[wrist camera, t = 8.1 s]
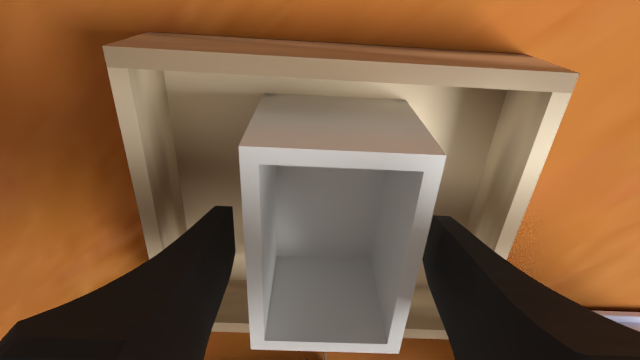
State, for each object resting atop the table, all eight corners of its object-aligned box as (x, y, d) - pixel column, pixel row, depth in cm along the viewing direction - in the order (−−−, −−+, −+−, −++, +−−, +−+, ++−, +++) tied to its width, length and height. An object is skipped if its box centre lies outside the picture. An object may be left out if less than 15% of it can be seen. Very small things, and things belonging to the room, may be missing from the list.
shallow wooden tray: (452, 288, 19) (474, 340, 17) (187, 278, 19) (164, 329, 16) (525, 54, 14) (579, 73, 11) (147, 31, 13) (102, 45, 10)
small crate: (378, 261, 18) (398, 353, 13) (267, 257, 18) (250, 349, 13) (405, 100, 14) (446, 155, 9) (263, 92, 14) (238, 146, 9)
